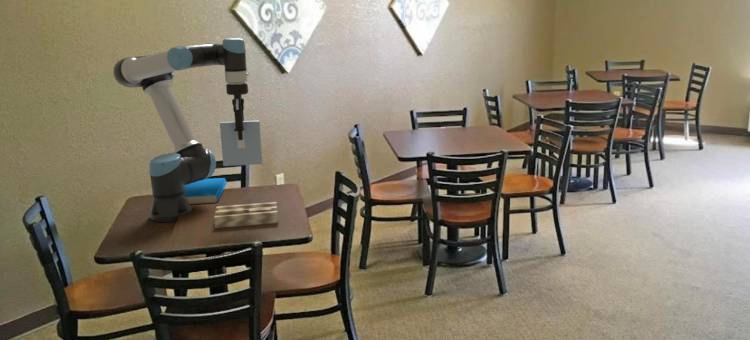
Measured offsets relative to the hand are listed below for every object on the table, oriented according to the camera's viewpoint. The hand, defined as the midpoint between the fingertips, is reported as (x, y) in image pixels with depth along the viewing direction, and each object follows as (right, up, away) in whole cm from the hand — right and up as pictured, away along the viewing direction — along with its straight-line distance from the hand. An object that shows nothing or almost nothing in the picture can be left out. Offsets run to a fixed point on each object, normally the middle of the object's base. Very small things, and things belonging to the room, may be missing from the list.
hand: (241, 147), depth 220 cm
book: (-25, -19, +37) cm, 49 cm away
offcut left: (-3, -28, -3) cm, 28 cm away
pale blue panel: (0, -6, +2) cm, 6 cm away
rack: (+2, -28, +1) cm, 28 cm away
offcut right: (+7, -27, -1) cm, 28 cm away
